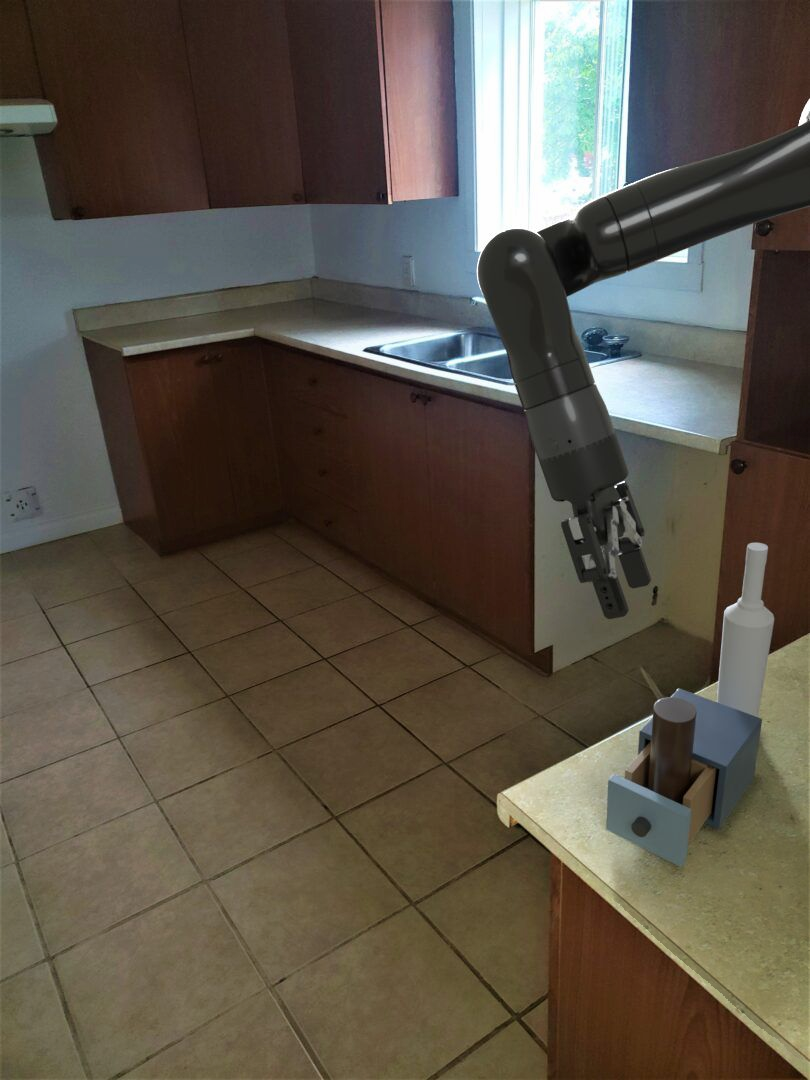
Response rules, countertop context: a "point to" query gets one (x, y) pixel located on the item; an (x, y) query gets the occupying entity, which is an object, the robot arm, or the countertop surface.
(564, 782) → the countertop surface
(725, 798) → the cabinet
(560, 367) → the robot arm
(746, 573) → the bottle
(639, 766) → the drawer
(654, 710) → the pepper mill
